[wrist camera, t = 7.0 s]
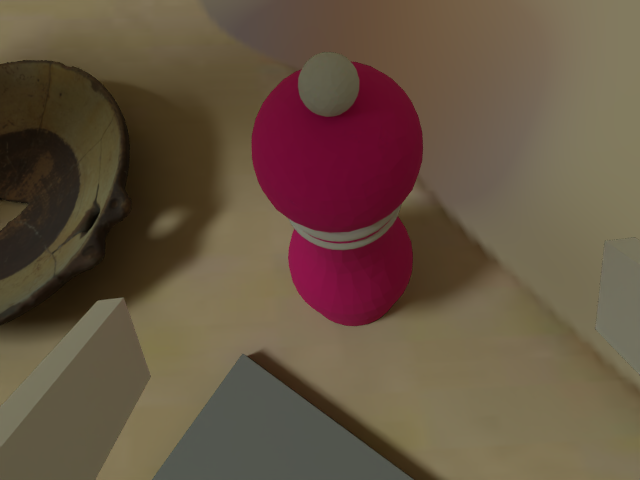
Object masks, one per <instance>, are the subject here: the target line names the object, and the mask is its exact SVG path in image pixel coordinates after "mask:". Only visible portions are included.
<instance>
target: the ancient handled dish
mask: <svg viewBox="0 0 640 480" xmlns="http://www.w3.org/2000/svg"><path fill="white" fill-rule="evenodd" d="M129 147H130V145H129V135H128V130H127V126H126V124H125V120H124V117H123V115H122V113H121V111H120V108H119V107H118V105H117V103H116V101H115V100H114V98H113V97H112V95H111V94H110V93H109V92H108V90H107V89H106V88H105V87H104V86H103V85H102V84H101V83H100V82H99V81H98V80H97V79H96V78H94V77H93V76H92V75H90V74H89V73H87V72H85V71H83V70H81V69H79V68H77V67H67V66H65V65H64V64H61V63H60V62H53V61H46V60H45V61H43V60H41V61H32V60H29V61H28V60H23V61H17V62H11V63H8V62H7V63H6V64H0V199H4V200H7V201H16V202H21V203H28V206H27V207H26V209H24V210H23V211H22V213H21V214H20V215H19V216H17V217H16V218H14V220H12V221H10V222H8V224H7V225H6V227H4V228H3V229H2V230H1V231H0V325H2V324H5V323H6V322H9V321H11V320H13V319H15V318H17V317H19V316H20V315H22V314H24V313H25V312H27V311H29V310H30V309H32V308H34V307H35V306H37V305H38V304H40V303H41V302H43V301H44V300H46V299H47V298H49V297H50V296H51V295H52V294H54V293H55V292H56V291H57V290H58V289H59V288H60V287H62V286H63V285H64V284H65V283H66V282H67V281H69V280H70V279H71V278H73V277H75V276H76V275H78V274H79V273H82V272H84V271H86V270H90V269H92V268H93V267H94V266H96V265H97V264H99V263H100V262H101V261H102V259H103V258H104V256H105V237H106V235H107V234H108V232H109V230H110V229H111V228H112V227H113V226H114V225H115V224H117V223H118V222H120V221H122V220H123V219H124V218H125V217H127V215H128V214H129V212H130V210H131V199H130V198H129V197H128V194H127V193H126V191H125V183H126V179H127V175H128V170H129V158H130V157H129V155H130V154H129V150H130V149H129ZM98 215H99V216H98ZM97 217H98V218H97ZM96 218H97V220H96ZM95 220H96V222H95ZM94 222H95V223H94ZM93 223H94V225H93Z"/></svg>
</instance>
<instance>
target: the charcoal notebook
mask: <svg viewBox="0 0 640 480" xmlns="http://www.w3.org/2000/svg"><path fill="white" fill-rule="evenodd" d="M152 480H414V479H413V478H412V477H410V476H409V475H408V474H406V473H405V472H403V471H402V470H401V469H399V468H398V467H397V466H395V465H394V464H393V463H391V462H390V461H389V460H387V459H386V458H384V457H383V456H382V455H380V454H379V453H378V452H376V451H375V450H374V449H372V448H371V447H370V446H368V445H367V444H365V443H364V442H363V441H361V440H360V439H359V438H357V437H356V436H355V435H353V434H352V433H351V432H349V431H348V430H347V429H345V428H344V427H342V426H341V425H340V424H338V423H337V422H336V421H334V420H333V419H332V418H330V417H329V416H328V415H326V414H325V413H323V412H322V411H321V410H319V409H318V408H317V407H315V406H314V405H313V404H311V403H310V402H309V401H307V400H306V399H305V398H303V397H302V396H300V395H299V394H298V393H296V392H295V391H294V390H292V389H291V388H290V387H288V386H287V385H286V384H284V383H283V382H281V381H280V380H279V379H277V378H276V377H275V376H273V375H272V374H271V373H269V372H268V371H267V370H265V369H264V368H262V367H261V366H260V365H258V364H257V363H256V362H254V361H253V360H252V359H250V358H249V357H248V356H246V355H244V354H242V355H241V357H240V358H239V359H238V361H237V362H236V363H235V365H234V366H233V368H232V369H231V370H230V372H229V373H228V375H227V376H226V377H225V379H224V380H223V382H222V383H221V384H220V386H219V387H218V389H217V390H216V391H215V393H214V394H213V395H212V397H211V398H210V400H209V401H208V402H207V404H206V405H205V407H204V408H203V409H202V411H201V412H200V414H199V415H198V416H197V418H196V419H195V421H194V422H193V423H192V425H191V426H190V427H189V429H188V430H187V432H186V433H185V434H184V436H183V437H182V439H181V440H180V441H179V443H178V444H177V446H176V447H175V448H174V450H173V451H172V453H171V454H170V455H169V457H168V458H167V459H166V461H165V462H164V464H163V465H162V466H161V468H160V469H159V471H158V472H157V473H156V475H155V476H154V478H153V479H152Z"/></svg>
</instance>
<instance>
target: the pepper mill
mask: <svg viewBox="0 0 640 480" xmlns="http://www.w3.org/2000/svg"><path fill="white" fill-rule="evenodd" d="M422 154H423V140H422V130H421V126H420V122H419V118H418V115H417V113H416V111H415V108H414V106H413V104H412V102H411V100H410V99H409V97H408V96H407V94H406V93H405V92H404V90H403V89H401V87H400V86H398V84H397V83H396V82H395V81H394V80H393V79H391V78H390V77H388V76H387V75H385V74H384V73H382V72H380V71H378V70H376V69H374V68H373V67H371V66H368V65H364V64H361V63H357V62H350V61H349V60H348V59H347V58H346V57H345V56H343V55H340V54H338V53H333V52H323V53H320V54H317V55H315V56H313V57H312V58H310V59H309V60H308V61H307V62H306V63H305V65H304V67H303V69H301V70H299V71H296V72H294V73H293V74H291V75H290V76H288V77H287V78H285V79H284V80H283V81H282V82H281V83H280V84H279V85H278V86H277V87H276V88H275V89H274V90H273V91H272V92H271V93H270V94H269V96H268V97H267V98H266V100H265V101H264V102H263V104H262V106H261V108H260V111H259V113H258V115H257V117H256V120H255V124H254V128H253V133H252V160H253V166H254V170H255V173H256V176H257V179H258V182H259V184H260V186H261V188H262V190H263V192H264V193H265V194H266V196H267V197H268V199H269V200H270V201H271V203H272V204H273V205H274V207H275V208H276V209H277V210H278V211H279V212H281V213H282V214H283V215H285V216H286V217H287V218H288V219H289V221H290V223H291V224H292V226H293V227H294V228H295V229H294V231H293V234H292V238H291V242H290V246H289V255H288V259H289V268H290V272H291V276H292V280H293V283H294V285H295V287H296V289H297V291H298V293H299V294H300V295H301V297H302V298H303V299H304V300H305V302H307V303H308V304H309V305H310V306H311V307H312V308H314V309H315V310H316V311H318V312H320V313H321V314H322V315H323V316H325V317H326V318H328V319H329V320H331V321H333V322H335V323H339V324H342V325H346V326H359V325H365V324H369V323H371V322H374V321H376V320H377V319H379V318H381V317H382V316H383V315H384V314H385V313H386V312H388V310H389V309H390V308H391V307H392V305H393V304H394V303H395V302H396V301H397V300H398V299H399V298H400V296H401V295H402V294H403V292H404V291H405V289H406V287H407V285H408V283H409V280H410V276H411V273H412V264H413V252H412V245H411V241H410V238H409V236H408V233H407V231H406V228H405V227H404V225H403V224H402V222H401V220H400V219H399V218H398V217H397V216H398V214H399V211H400V208H401V204H402V203H403V201H404V200H405V199H406V197H407V196H408V195H409V193H410V192H411V191H412V189H413V186H414V184H415V181H416V179H417V176H418V173H419V170H420V166H421V163H422Z"/></svg>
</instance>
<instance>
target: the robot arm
mask: <svg viewBox="0 0 640 480" xmlns="http://www.w3.org/2000/svg"><path fill="white" fill-rule="evenodd" d="M595 330H597V332H598V333H599V334H600V335H601V336H602V337H603V338H604V339H605V340H606V341H607V342H608V343H609V344H610V345H611V346H612V347H613V348H614V349H615V350H616V351H617V352H618V353H619V354H620V355H621V356H622V357H623V358H624V359H625V360H626V361H627V363H628V364H629V365H630V366H632V367H633V369H634V370H635V371H636V372H637V373H638V374H639V375H640V240H638V239H637V238H635V237H633V238H625V239H616V240H608V241H605V243H604V252H603V262H602V271H601V280H600V290H599V299H598V309H597V317H596V327H595ZM150 377H151V375H150V372H149V369H148V367H147V364H146V361H145V358H144V355H143V352H142V349H141V346H140V343H139V340H138V337H137V334H136V332H135V329H134V326H133V323H132V320H131V317H130V314H129V311H128V308H127V305H126V302H125V300H124V297H123V298H115V299H106V300H98V301H97V302H96V303H95V304H94V305H93V306H92V307H91V308H90V309H89V310H88V312H87V313H86V314H85V315H84V316H83V317H82V318H81V319H80V320H79V321H78V322H77V324H76V325H75V326H74V327H73V328H72V329H71V330H70V331H69V332H68V333H67V334H66V336H65V337H64V338H63V339H62V340H61V341H60V342H59V343H58V344H57V345H56V347H55V348H54V349H53V350H52V351H51V352H50V353H49V354H48V355H47V356H46V357H45V359H44V360H43V361H42V362H41V363H40V364H39V365H38V366H37V367H36V368H35V369H34V371H33V372H32V373H31V374H30V375H29V376H28V377H27V378H26V379H25V380H24V381H23V383H22V384H21V385H20V386H19V387H18V388H17V389H16V390H15V391H14V392H13V393H12V395H11V396H10V397H9V398H8V399H7V400H6V401H5V402H4V403H3V404H2V405H1V407H0V480H95V479H96V477H97V475H98V473H99V472H100V470H101V468H102V466H103V464H104V462H105V460H106V459H107V457H108V455H109V453H110V451H111V449H112V447H113V446H114V444H115V442H116V440H117V438H118V436H119V434H120V433H121V431H122V429H123V427H124V425H125V423H126V421H127V420H128V418H129V416H130V414H131V412H132V410H133V408H134V407H135V405H136V403H137V401H138V399H139V397H140V395H141V394H142V392H143V390H144V388H145V386H146V384H147V382H148V381H149V379H150Z"/></svg>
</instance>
